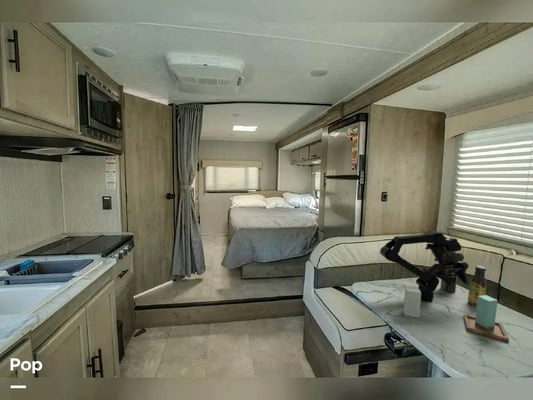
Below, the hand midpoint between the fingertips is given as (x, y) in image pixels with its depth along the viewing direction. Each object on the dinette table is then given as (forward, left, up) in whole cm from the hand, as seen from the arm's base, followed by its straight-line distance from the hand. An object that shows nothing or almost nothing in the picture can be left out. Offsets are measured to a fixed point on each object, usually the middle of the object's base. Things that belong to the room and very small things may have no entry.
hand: (458, 284), depth 122 cm
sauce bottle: (+9, +15, -14) cm, 22 cm away
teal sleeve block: (+9, -10, -13) cm, 19 cm away
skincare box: (-18, -15, -14) cm, 27 cm away
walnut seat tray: (+9, -10, -14) cm, 19 cm away
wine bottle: (-2, +27, -14) cm, 30 cm away
